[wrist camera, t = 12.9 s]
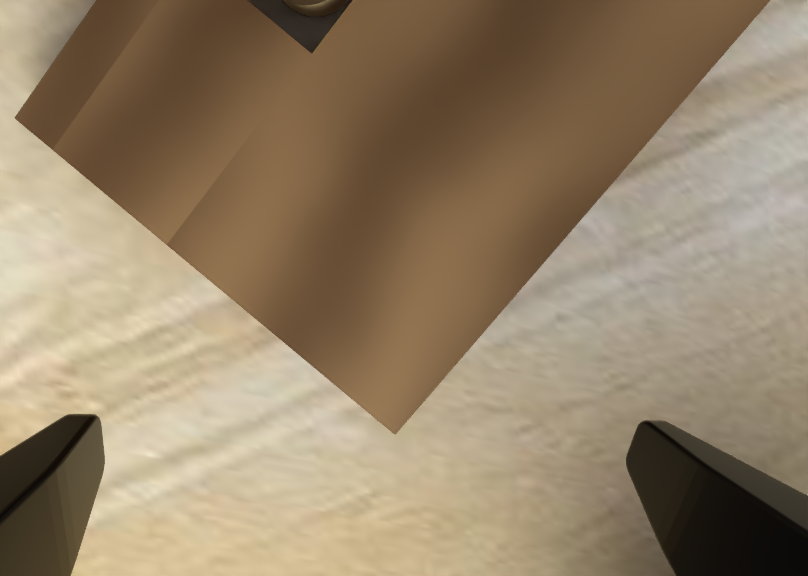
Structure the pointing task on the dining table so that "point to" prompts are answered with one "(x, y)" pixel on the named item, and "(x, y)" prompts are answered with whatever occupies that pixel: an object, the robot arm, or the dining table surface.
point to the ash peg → (315, 6)
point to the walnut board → (372, 154)
